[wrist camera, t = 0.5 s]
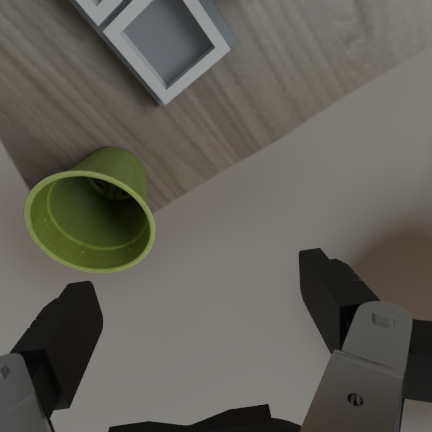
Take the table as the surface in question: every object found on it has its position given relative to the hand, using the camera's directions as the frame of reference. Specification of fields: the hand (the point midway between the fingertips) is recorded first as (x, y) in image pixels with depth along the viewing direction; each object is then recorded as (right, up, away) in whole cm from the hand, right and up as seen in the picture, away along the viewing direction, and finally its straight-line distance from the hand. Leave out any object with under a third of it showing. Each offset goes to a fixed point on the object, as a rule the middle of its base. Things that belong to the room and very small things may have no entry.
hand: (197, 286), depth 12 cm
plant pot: (-12, +8, +27) cm, 30 cm away
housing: (-6, +23, +16) cm, 29 cm away
